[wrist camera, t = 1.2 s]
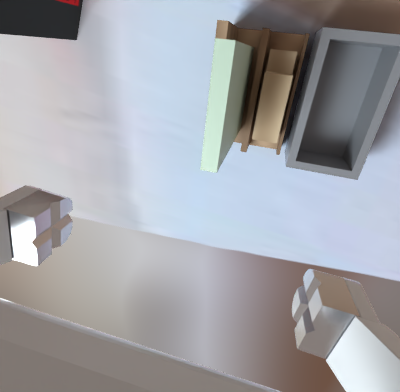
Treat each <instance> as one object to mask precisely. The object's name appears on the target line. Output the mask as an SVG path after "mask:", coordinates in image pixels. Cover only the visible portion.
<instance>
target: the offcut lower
mask: <svg viewBox="0 0 400 392" xmlns="http://www.w3.org/2000/svg"><path fill="white" fill-rule="evenodd" d="M296 56H297V52H294V51H285V50H277V49H270V54H269V59H268V64H267V69H266V71H268V72H276V73H284V74H292V73H293V69H294V64H295V60H296Z"/></svg>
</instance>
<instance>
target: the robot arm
mask: <svg viewBox="0 0 400 392" xmlns="http://www.w3.org/2000/svg"><path fill="white" fill-rule="evenodd" d="M71 211H72V200H71V199H70V198H68V197H65V196H62V195H59V194H56V193H52V192H49V191H46V190H42V189H40V188H36V187H33V186H23V187H21V188H19V189H17V190H15V191H13V192H11V193H9V194H7V195H5V196H3V197H1V198H0V265H2V264H4V263H7V262H10V261H12V259H14V260H18V261H21V262H24V263H28V264H31V265H35V266H38V265H40V264H41V263H42V262H43V261H44V260H45V259H46V258H47V257H49V256H50V255H51V254H52V248H55V247H58V246H61V245H62V244H63V243H64V242H66V240H67V239H68V237H69V235H70V234H71V230H72V219H71V218H70V216H69V213H70V212H71ZM303 281H304V285H303V286H301V287H299V288H298V289H297V291H296V293H295V295H294V299H293V303H292V315H293V319H294V320H295V321H296V322H297V326H296V328H295V337H296V343H297V349H299V350H301V351H304V352H307V353H310V354H313V355H316V356H319V357H322V358H324V359H327V360H326V361H327V363H328V364H329V366H330V368H331V369H332V371H333V372H334V374H335V375H336V377H337V378H338V380H339V381H340V383H341V385H342V386H343V388H344V389H345V391H346V392H400V337H398V336H397V335H396V334H395V333H394V332H393V331H392V330H391V329H390V328H388V327H387V326H386V325H384V324H381V323H380V322H379V320H378V318H377V316H376V313H375V311H374V309H373V307H372V305H371V303H370V301H369V299H368V297H367V295H366V293H365V291H364V289H363V287H362V285H361V284H360V283H359V282H358V281H354V280H350V279H346V278H343V277H338V276H334V275H330V274H327V273H323V272H319V271H316V270H312V269H308V270H307V271H306V273H305V275H304V277H303ZM0 392H281V391H278V390H275V389H271V388H269V387H265V386H263V385H260V384H257V383H254V382H251V381H247V380H244V379H242V378H238V377H236V376H233V375H229V374H227V373H224V372H221V371H218V370H215V369H212V368H209V367H206V366H203V365H200V364H197V363H193V362H191V361H188V360H185V359H182V358H179V357H176V356H173V355H170V354H167V353H164V352H161V351H158V350H155V349H152V348H149V347H146V346H143V345H140V344H137V343H134V342H131V341H128V340H125V339H122V338H119V337H115V336H113V335H110V334H107V333H104V332H101V331H98V330H95V329H91V328H89V327H86V326H82V325H80V324H77V323H74V322H71V321H67V320H65V319H62V318H58V317H56V316H53V315H50V314H46V313H44V312H41V311H38V310H34V309H32V308H29V307H26V306H23V305H19V304H16V303H13V302H11V301H8V300H5V299H1V298H0Z"/></svg>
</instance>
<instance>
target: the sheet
mask: <svg viewBox="0 0 400 392" xmlns="http://www.w3.org/2000/svg"><path fill="white" fill-rule="evenodd" d="M253 53H254V47H252V46H249V45H246V44H244V43H241V42H239V41H236V40H227V39H218V38H215V44H214V53H213V62H212V70H211V79H210V88H209V97H208V106H207V115H206V124H205V133H204V142H203V151H202V160H201V168H200V170H204V171H209V172H214V173H217V171H218V169H219V168H220V166H221V164H222V162H223V160H224V159H225V157H226V155H227V153H228V151H229V149H230V148H231V146H232V144H233V142H234V140H235V138H236V137H237V135H238V133H239V131H240V128H241V122H242V117H243V111H244V105H245V99H246V94H247V88H248V82H249V76H250V70H251V65H252V59H253Z"/></svg>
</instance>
